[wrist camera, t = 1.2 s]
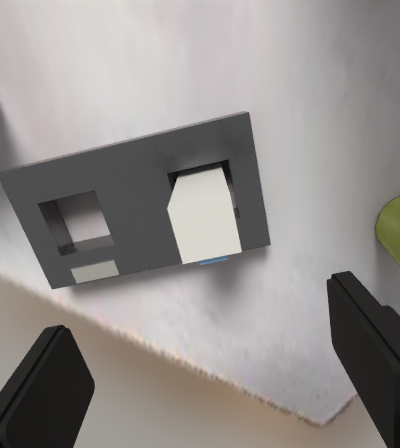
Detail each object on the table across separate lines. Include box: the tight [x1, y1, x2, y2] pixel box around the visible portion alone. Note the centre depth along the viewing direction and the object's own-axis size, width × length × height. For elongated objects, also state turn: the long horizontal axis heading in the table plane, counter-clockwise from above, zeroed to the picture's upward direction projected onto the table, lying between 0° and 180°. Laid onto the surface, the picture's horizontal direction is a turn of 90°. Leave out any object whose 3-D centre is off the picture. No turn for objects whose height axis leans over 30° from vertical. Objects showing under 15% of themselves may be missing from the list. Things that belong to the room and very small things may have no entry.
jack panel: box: [0, 111, 271, 289], centre depth 29 cm, size 22×12×3 cm, turn 103°
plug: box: [167, 163, 242, 265], centre depth 25 cm, size 4×5×11 cm
